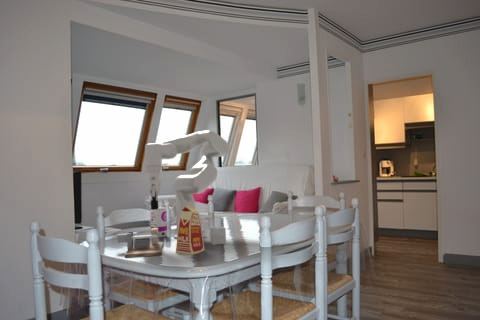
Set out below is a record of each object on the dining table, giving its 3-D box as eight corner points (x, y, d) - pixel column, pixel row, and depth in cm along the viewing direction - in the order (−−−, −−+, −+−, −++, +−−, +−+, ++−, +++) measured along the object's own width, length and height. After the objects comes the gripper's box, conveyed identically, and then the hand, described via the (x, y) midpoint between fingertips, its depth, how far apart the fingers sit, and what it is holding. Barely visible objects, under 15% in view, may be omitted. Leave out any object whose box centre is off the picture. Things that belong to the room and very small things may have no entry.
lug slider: (158, 243, 171) (157, 227, 171) (157, 245, 165) (157, 229, 165) (152, 243, 171) (151, 228, 171) (151, 246, 164) (150, 230, 165)
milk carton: (192, 254, 151) (190, 204, 151) (174, 252, 156) (173, 204, 156) (206, 250, 158) (204, 202, 159) (189, 248, 163) (187, 202, 164)
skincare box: (222, 241, 177) (222, 226, 177) (226, 244, 171) (225, 227, 171) (210, 242, 175) (209, 226, 175) (213, 245, 169) (212, 228, 169)
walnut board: (163, 244, 174) (163, 241, 174) (160, 255, 152) (160, 252, 152) (131, 246, 172) (131, 243, 172) (124, 257, 149) (124, 254, 149)
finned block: (150, 245, 166) (149, 237, 166) (148, 249, 159) (148, 240, 159) (136, 246, 165) (135, 238, 165) (134, 250, 158) (133, 240, 158)
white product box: (170, 235, 200) (169, 206, 200) (161, 238, 192) (161, 208, 192) (156, 234, 202) (155, 206, 203) (148, 237, 194) (147, 208, 195)
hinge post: (133, 247, 164) (133, 231, 164) (131, 249, 158) (131, 233, 159) (129, 247, 163) (128, 231, 164) (127, 250, 158) (127, 233, 158)
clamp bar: (156, 239, 164) (156, 231, 164) (156, 240, 161) (156, 232, 161) (118, 241, 162) (118, 234, 162) (117, 242, 159) (117, 235, 159)
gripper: (161, 169, 169) (162, 210, 169) (162, 169, 184) (163, 207, 183) (144, 170, 168) (145, 211, 167) (146, 170, 183) (147, 208, 182)
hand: (154, 209), depth 175 cm, fingers closed
